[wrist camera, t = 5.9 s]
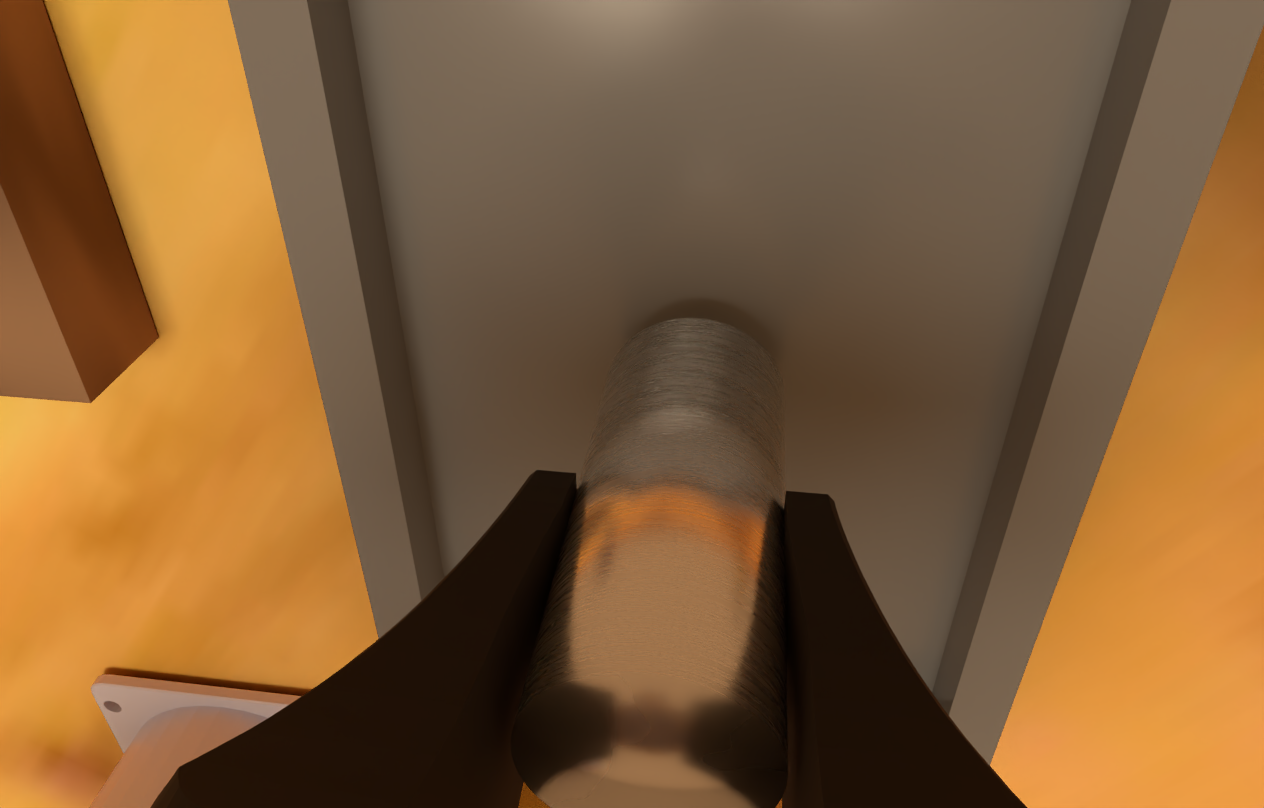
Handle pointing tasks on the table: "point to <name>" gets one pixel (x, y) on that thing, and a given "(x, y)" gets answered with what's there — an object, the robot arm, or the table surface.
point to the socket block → (57, 232)
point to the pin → (669, 589)
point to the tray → (748, 259)
